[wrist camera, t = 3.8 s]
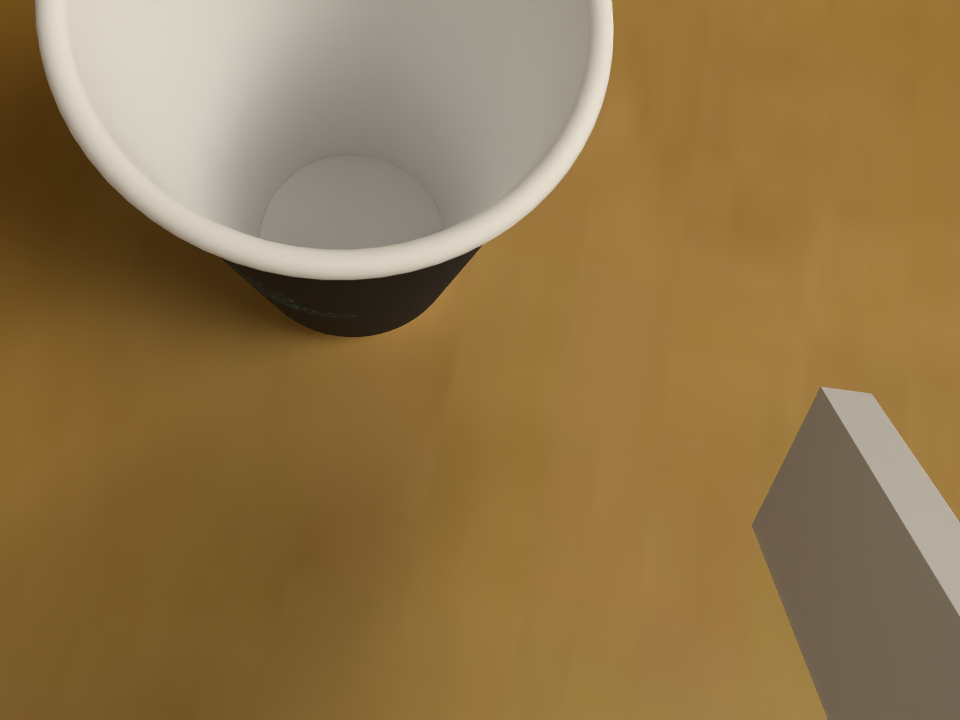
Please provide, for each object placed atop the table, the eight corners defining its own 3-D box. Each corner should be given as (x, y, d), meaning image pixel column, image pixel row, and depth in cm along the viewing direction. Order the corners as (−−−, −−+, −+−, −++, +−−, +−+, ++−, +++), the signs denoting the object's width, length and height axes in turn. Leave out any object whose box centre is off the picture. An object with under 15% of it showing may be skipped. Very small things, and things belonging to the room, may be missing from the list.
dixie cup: (188, 387, 21) (-8, 257, 10) (213, 97, 22) (65, -286, 12) (498, 399, 22) (620, 291, 11) (502, 120, 23) (614, -213, 12)
